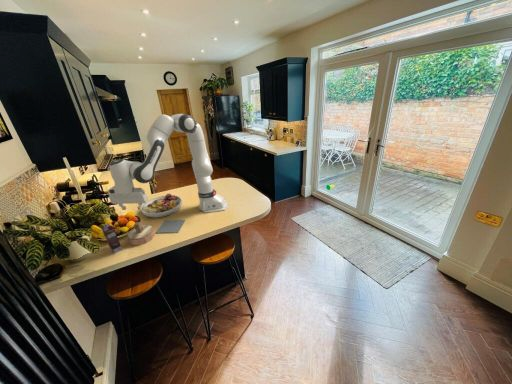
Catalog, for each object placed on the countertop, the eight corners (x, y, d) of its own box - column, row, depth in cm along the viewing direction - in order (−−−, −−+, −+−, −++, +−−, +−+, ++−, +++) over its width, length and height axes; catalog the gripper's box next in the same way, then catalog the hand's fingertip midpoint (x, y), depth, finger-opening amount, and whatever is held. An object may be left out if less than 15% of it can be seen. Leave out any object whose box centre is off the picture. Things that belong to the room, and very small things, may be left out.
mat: (185, 220, 153) (185, 219, 153) (178, 232, 139) (177, 232, 139) (164, 220, 154) (164, 220, 153) (155, 233, 140) (155, 232, 140)
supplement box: (109, 248, 129) (99, 226, 122) (118, 243, 132) (109, 222, 125) (114, 254, 123) (104, 231, 117) (123, 249, 127) (114, 227, 120)
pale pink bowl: (156, 225, 140) (153, 216, 138) (146, 239, 128) (142, 229, 125) (135, 226, 141) (132, 217, 138) (123, 239, 128) (119, 230, 125)
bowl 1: (158, 231, 142) (156, 226, 141) (147, 244, 130) (146, 239, 128) (137, 231, 143) (135, 226, 141) (125, 245, 130) (123, 240, 129)
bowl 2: (174, 219, 155) (171, 210, 152) (134, 219, 158) (131, 210, 154) (188, 200, 182) (186, 191, 179) (154, 200, 185) (152, 192, 181)
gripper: (146, 185, 124) (151, 206, 130) (111, 186, 124) (119, 207, 130) (140, 189, 118) (146, 211, 124) (104, 190, 119) (112, 212, 125)
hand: (132, 209), depth 127 cm, fingers open, 8 cm apart
